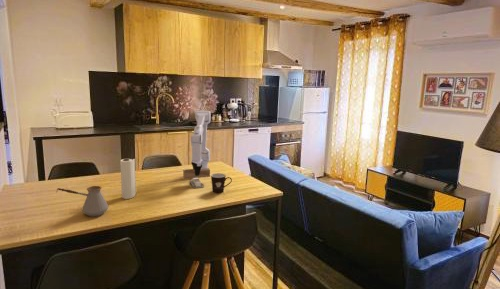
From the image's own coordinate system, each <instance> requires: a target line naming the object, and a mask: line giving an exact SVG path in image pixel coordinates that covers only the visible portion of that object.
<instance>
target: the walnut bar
mask: <svg viewBox="0 0 500 289" xmlns="http://www.w3.org/2000/svg"><path fill="white" fill-rule="evenodd" d="M182 171H183V172H182V175H183V178H184V179H193V178H198V179H199V178H211V169H210V168H209V167H208V168H203V169H201V170H200V174H199V176H196V175H195V170H194V169H193V168H190V169H183V170H182Z"/></svg>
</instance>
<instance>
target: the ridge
mask: <svg viewBox="0 0 500 289" xmlns="http://www.w3.org/2000/svg"><path fill="white" fill-rule="evenodd" d="M189 182H190V184H191V187H192V188H193V189H200V188H205V187H204V184H202V182H201V180H200V179H199V178H192V179H190V180H189Z"/></svg>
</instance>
